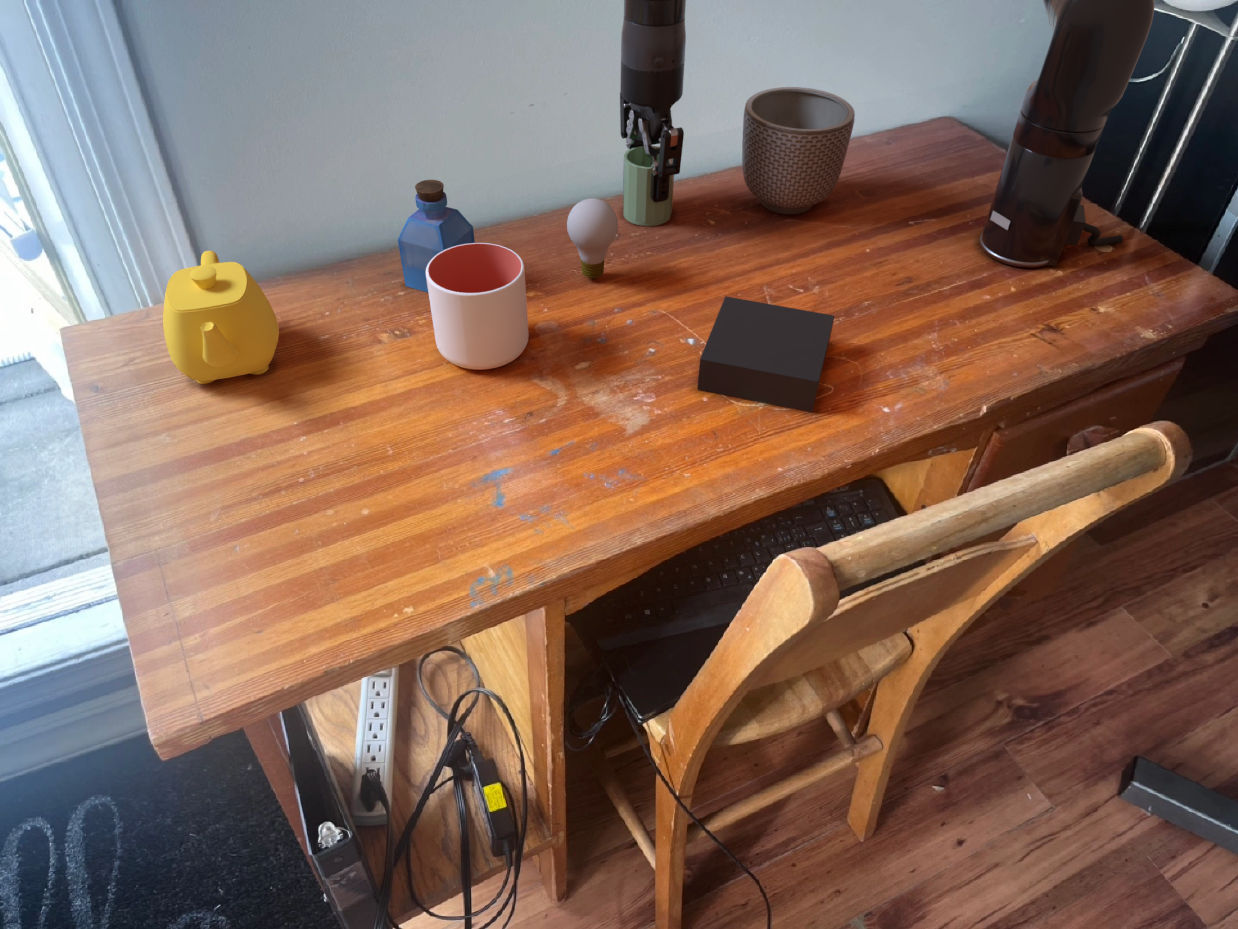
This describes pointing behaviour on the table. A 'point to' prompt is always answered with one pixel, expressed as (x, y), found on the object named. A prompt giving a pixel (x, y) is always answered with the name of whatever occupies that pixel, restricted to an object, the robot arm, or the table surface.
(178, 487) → the table surface
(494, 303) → the cup
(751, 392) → the riser
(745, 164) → the planter
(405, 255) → the perfume bottle
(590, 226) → the light bulb
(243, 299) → the teapot
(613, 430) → the table surface
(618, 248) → the table surface
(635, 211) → the sage cup
